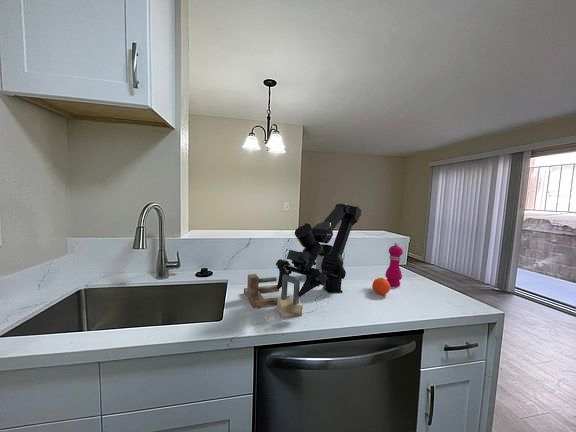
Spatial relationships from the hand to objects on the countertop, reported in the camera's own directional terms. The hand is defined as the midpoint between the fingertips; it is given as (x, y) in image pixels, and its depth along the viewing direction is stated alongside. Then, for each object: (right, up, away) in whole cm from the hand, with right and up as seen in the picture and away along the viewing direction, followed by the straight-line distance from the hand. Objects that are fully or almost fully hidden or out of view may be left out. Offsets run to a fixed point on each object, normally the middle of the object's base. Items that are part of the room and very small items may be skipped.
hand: (287, 292), depth 85 cm
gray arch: (+1, -3, +1) cm, 4 cm away
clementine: (+39, -7, +22) cm, 45 cm away
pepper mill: (+49, -7, +35) cm, 60 cm away
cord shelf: (-7, -6, +12) cm, 15 cm away
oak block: (0, -7, +1) cm, 7 cm away
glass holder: (+20, -5, +43) cm, 48 cm away
